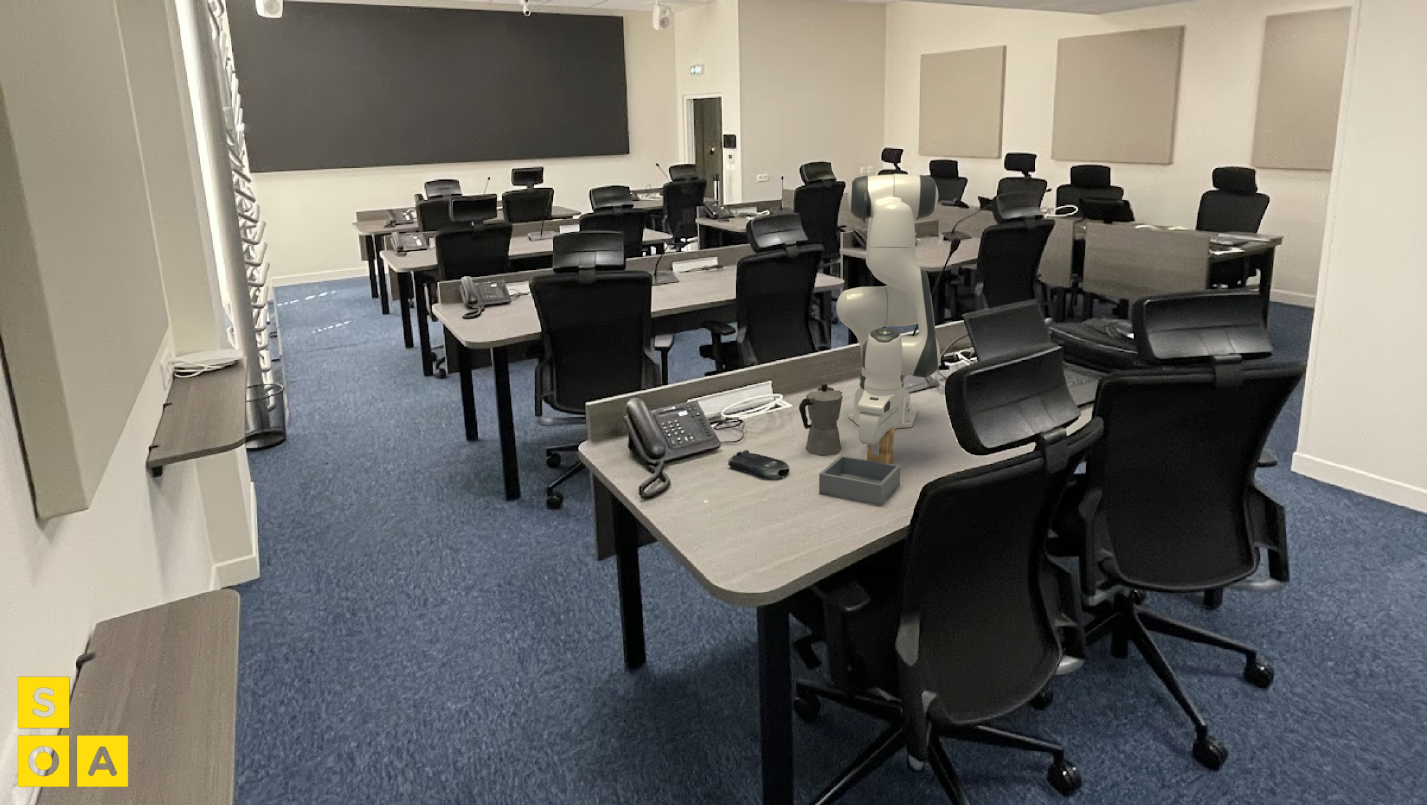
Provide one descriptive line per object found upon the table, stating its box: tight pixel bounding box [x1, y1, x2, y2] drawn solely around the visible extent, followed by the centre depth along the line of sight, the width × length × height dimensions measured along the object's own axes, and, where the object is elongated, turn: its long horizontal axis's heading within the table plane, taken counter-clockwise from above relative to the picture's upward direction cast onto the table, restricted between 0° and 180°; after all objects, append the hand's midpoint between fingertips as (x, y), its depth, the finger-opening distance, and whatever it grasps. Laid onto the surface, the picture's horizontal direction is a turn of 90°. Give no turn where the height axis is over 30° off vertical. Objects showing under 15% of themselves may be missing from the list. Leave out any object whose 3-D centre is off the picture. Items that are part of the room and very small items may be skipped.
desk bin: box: [818, 454, 901, 507], centre depth 203 cm, size 13×15×5 cm
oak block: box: [866, 427, 895, 465], centre depth 214 cm, size 5×5×10 cm
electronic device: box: [727, 449, 790, 480], centre depth 216 cm, size 9×6×15 cm
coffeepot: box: [798, 383, 844, 457], centre depth 225 cm, size 15×9×18 cm, turn 129°
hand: (880, 449), depth 214 cm, fingers closed on oak block, 5 cm apart
